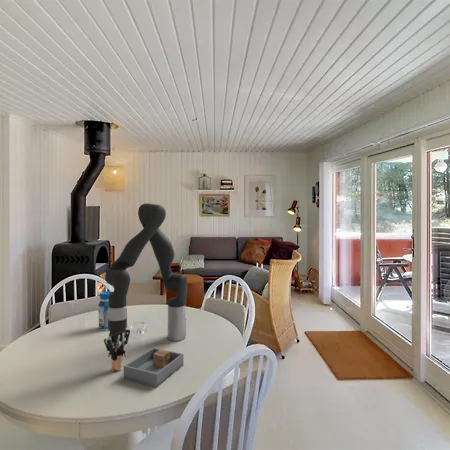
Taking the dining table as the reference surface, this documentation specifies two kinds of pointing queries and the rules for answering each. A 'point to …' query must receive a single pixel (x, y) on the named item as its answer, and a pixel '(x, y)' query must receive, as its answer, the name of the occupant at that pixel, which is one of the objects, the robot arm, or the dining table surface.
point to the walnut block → (161, 358)
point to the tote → (151, 368)
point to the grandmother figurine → (117, 363)
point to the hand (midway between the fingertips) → (117, 357)
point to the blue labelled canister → (103, 310)
